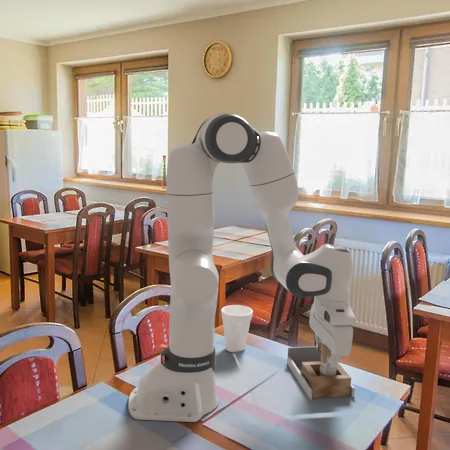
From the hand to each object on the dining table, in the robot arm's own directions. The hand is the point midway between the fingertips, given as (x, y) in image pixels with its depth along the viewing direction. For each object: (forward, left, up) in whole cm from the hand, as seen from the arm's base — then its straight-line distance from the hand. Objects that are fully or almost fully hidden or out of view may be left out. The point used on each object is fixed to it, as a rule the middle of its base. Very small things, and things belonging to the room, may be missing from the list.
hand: (326, 357), depth 126 cm
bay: (+1, +6, -10) cm, 11 cm away
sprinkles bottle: (+1, +1, -8) cm, 8 cm away
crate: (+1, +1, -9) cm, 9 cm away
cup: (-18, +29, -10) cm, 35 cm away
